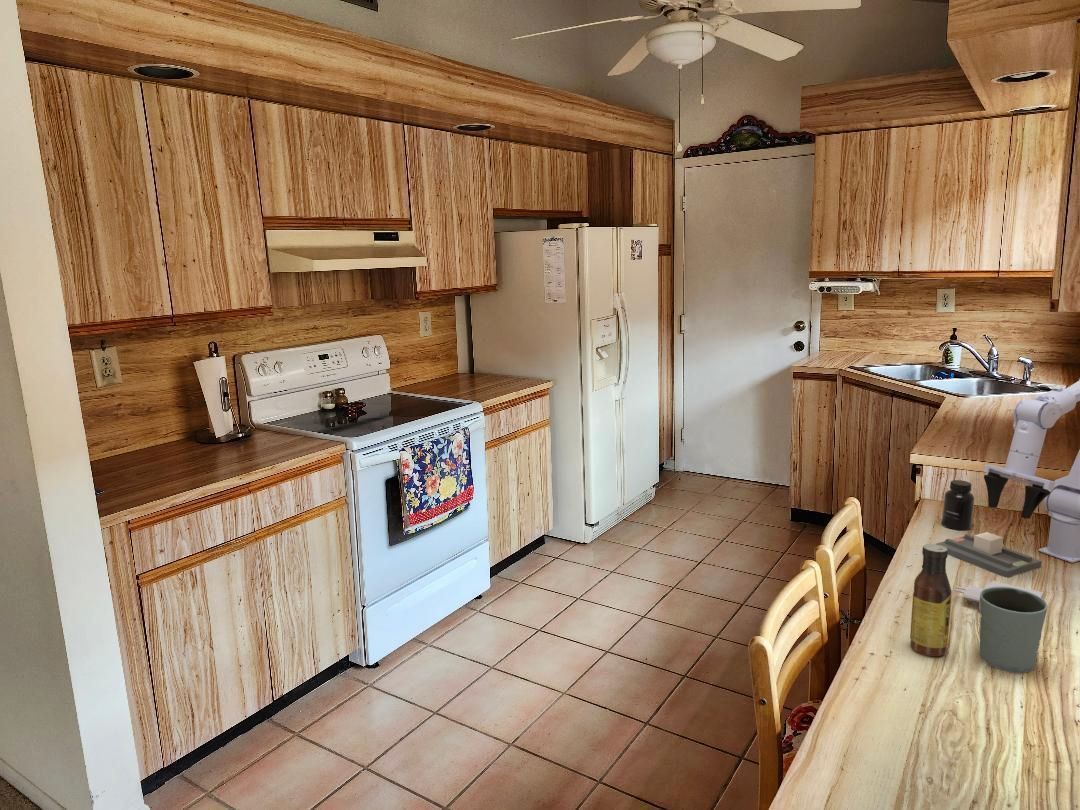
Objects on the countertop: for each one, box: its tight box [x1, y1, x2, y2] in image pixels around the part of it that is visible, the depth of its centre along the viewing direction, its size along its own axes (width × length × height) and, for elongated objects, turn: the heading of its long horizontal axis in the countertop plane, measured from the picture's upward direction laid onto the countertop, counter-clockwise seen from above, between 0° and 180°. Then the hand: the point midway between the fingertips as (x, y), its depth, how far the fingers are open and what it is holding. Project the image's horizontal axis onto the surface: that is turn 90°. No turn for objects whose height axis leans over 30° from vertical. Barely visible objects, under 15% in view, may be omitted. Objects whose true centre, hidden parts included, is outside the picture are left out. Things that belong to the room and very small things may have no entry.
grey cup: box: [978, 587, 1049, 674], centre depth 134 cm, size 10×10×12 cm
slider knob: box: [973, 531, 1004, 555], centre depth 178 cm, size 4×4×4 cm
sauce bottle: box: [909, 543, 953, 657], centre depth 138 cm, size 7×6×20 cm
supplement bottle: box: [941, 479, 975, 531], centre depth 197 cm, size 7×7×12 cm
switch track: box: [935, 533, 1043, 578], centre depth 178 cm, size 12×18×2 cm, turn 24°
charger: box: [953, 580, 1045, 613], centre depth 154 cm, size 5×9×15 cm
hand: (1008, 512), depth 168 cm, fingers open, 7 cm apart
